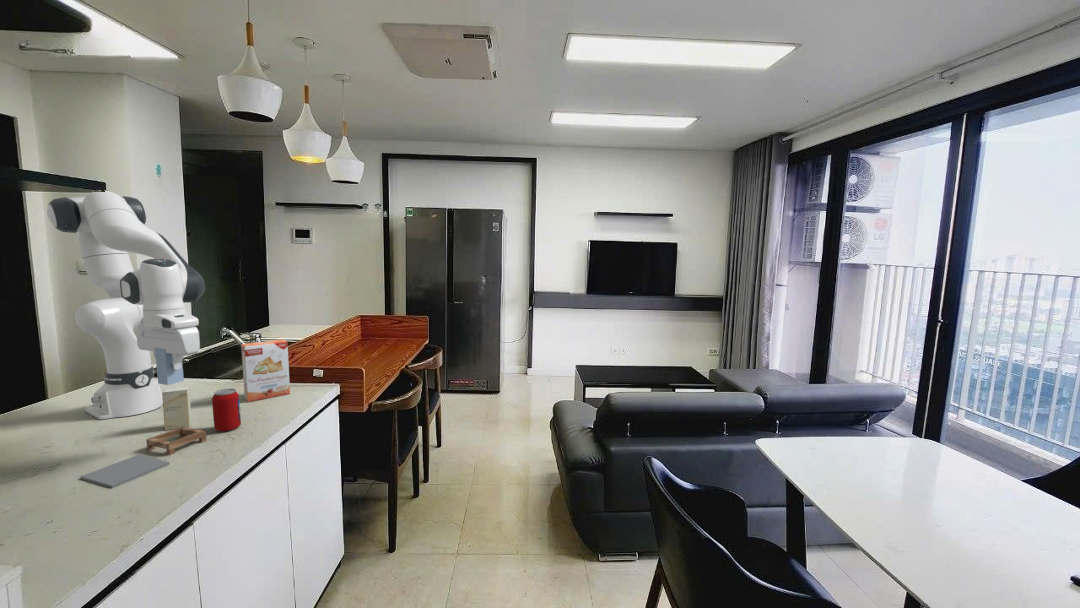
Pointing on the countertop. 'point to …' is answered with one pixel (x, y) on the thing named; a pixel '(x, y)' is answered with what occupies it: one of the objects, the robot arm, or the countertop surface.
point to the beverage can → (226, 410)
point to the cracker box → (265, 369)
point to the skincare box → (176, 407)
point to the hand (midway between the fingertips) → (169, 367)
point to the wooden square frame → (170, 446)
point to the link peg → (167, 368)
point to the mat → (124, 470)
